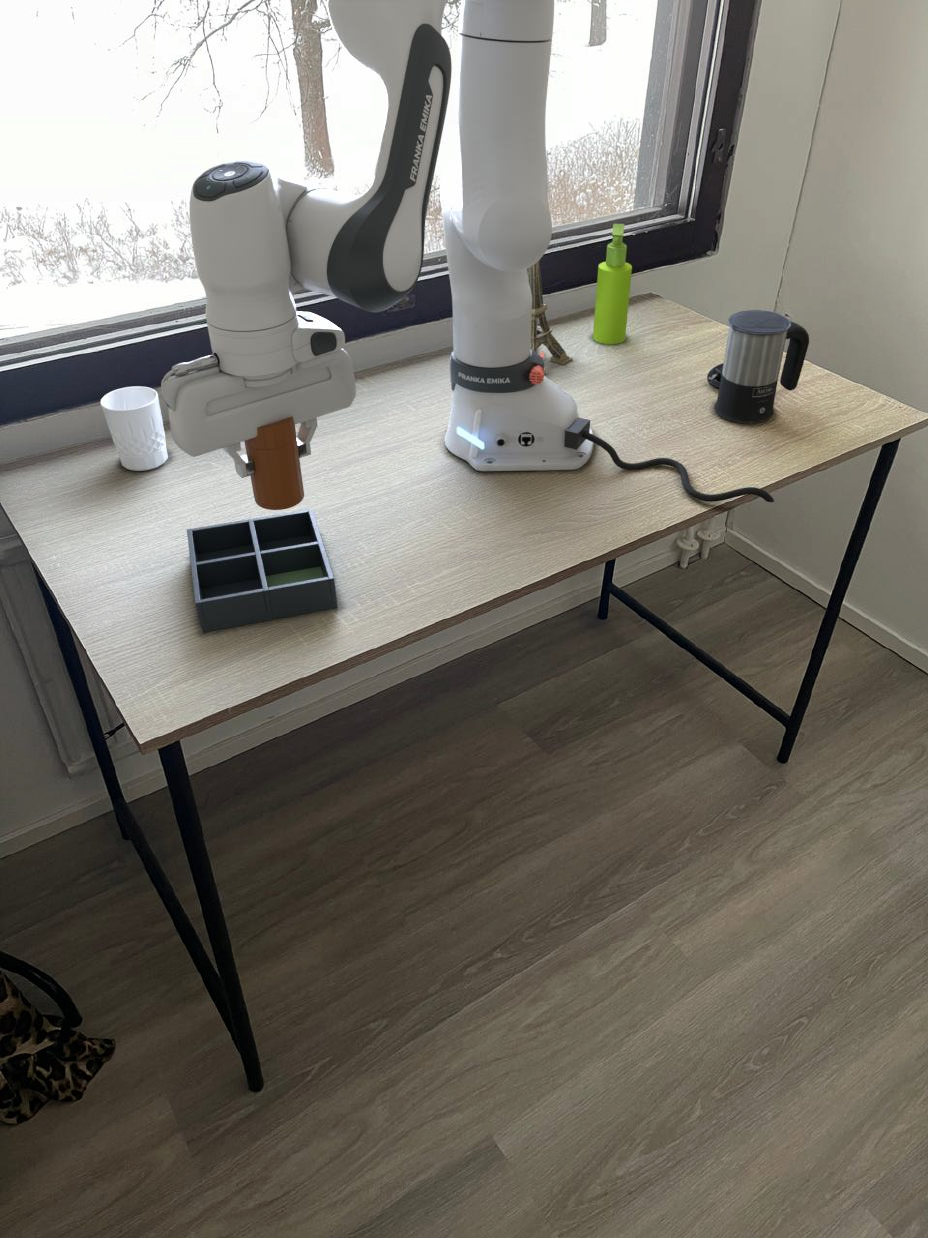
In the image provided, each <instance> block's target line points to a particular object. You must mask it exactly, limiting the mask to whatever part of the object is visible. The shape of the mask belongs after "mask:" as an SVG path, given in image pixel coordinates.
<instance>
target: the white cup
mask: <svg viewBox="0 0 928 1238" xmlns="http://www.w3.org/2000/svg"><path fill="white" fill-rule="evenodd" d="M99 403H100V407H101V409H102V413H103V415H104V418H105V421H106V424H107V427H108V431H109V434H110V436H111V439H112V442H113V444H114V447H115V449H116V450H117V453H118V458H119V460H120V463H121V466H122V467H123V468H124V469H127V470H129V471H134V472H142V471H149V470H153V469H156V468H158V467H160V466H162V465H164V464H165V463H166V462H167V460H168V458H169V455H168V450H167V443H166V439H167V438H166V433H165V429H164V420H163V416H162V410H161V404H160V399H159V393H158V392H157V391H156V390H155V389H154V388H152V387H148V386H142V385H141V386H139V385H135V386H133V385H132V386H125V387H121V388H117V389H113V390H111V391H109V392H108V393H105V394H104V396H103V397H101V399H100V402H99Z"/></svg>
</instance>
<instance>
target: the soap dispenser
mask: <svg viewBox="0 0 928 1238" xmlns="http://www.w3.org/2000/svg"><path fill="white" fill-rule="evenodd" d="M624 232H625V223H613V225H612V233H611V237H612V241H611V242H609V243H608V244H607V246H606V256H605V261H601V262H600V263H599V264H598V267H597V280H596V293H595V305H594V318H593V331H592V339H593V340H594V341H595V342H597V343H599V344H603V345H617V344H621V343H624V341H625V340H626V332H627V323H628V314H629V313H628V312H629V303H630V291H631V283H632V272H633V266H632V264H631V263H628V262H626V260H627V250H628V249H627V248H628V246H627V244H626V243H624V242H623V238H624V235H625V234H624Z"/></svg>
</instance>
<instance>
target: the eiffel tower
mask: <svg viewBox="0 0 928 1238" xmlns="http://www.w3.org/2000/svg"><path fill="white" fill-rule="evenodd" d="M540 260H541V259H540ZM540 260H539V261H538V262H537V263H535V264H534V265H533V266H531V267H530V268H528V269H527V274H528V280H529V285H530V289H531V293H532V324H531V349H532V350H534V351H535V352H536V353H537V354H538V355H539V353H538V351H537V350H538V349H539V348H540V347H541V346H542V345H543V346H545V347H546V349H547V350H548V352H549V353H550V354H551V356H550V357H549V358H550V359H549V360H550V361H551V362H553V363H556V364H558V365H559V364H560V365H563V366H564V365H565V364H567V363H569V362H571V361H572V360H573V357H571V356H569V355H567V352H566V351H565V349H564V348H563V346H562V345H561V343H560V342H559V341H558V340H557V339H556V337H554V335H553V334H552V332H553V330H554V329H553V328H550V326H549V324H548V321H547V315H546V311H547V310H548V309H549V308H548V304H547V303H544V295H543V287H542V286H543V285H542V274H541V263H540V262H541V261H540ZM538 320H539V325H538Z"/></svg>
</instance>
